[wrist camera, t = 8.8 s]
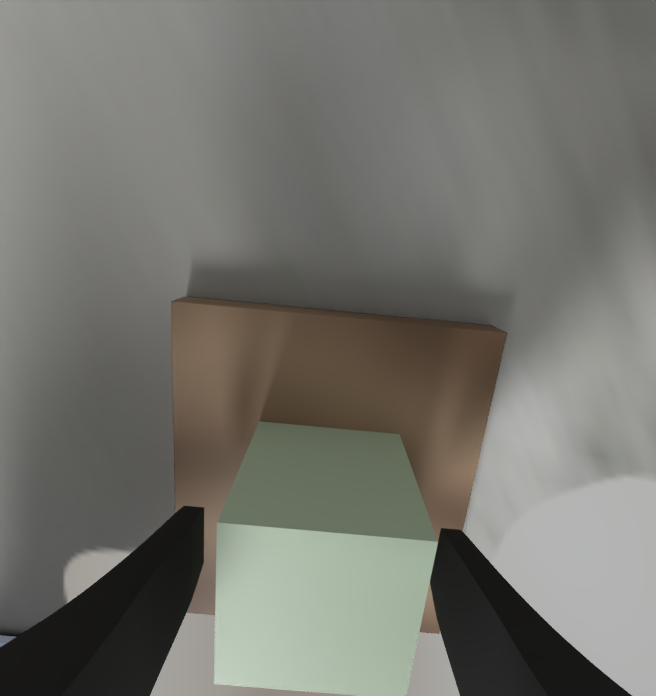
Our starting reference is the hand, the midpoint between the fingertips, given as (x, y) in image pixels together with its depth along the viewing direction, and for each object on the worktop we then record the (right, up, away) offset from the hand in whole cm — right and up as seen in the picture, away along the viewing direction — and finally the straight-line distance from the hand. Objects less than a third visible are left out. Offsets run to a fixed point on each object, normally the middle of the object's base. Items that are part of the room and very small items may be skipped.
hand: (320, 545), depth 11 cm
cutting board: (0, +1, +4) cm, 4 cm away
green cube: (0, +1, +3) cm, 3 cm away
